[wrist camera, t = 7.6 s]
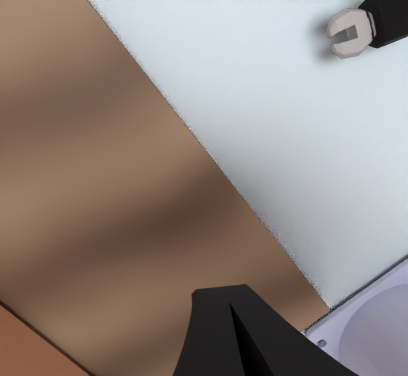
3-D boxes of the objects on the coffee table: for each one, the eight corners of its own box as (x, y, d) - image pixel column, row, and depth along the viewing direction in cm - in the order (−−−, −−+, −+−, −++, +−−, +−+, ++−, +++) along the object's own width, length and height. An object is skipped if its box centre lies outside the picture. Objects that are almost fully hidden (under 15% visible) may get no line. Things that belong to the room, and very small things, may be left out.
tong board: (320, 297, 21) (373, 368, 16) (67, 479, 22) (42, 596, 17) (51, -46, 15) (-1, -104, 10) (-273, 238, 16) (-461, 313, 11)
